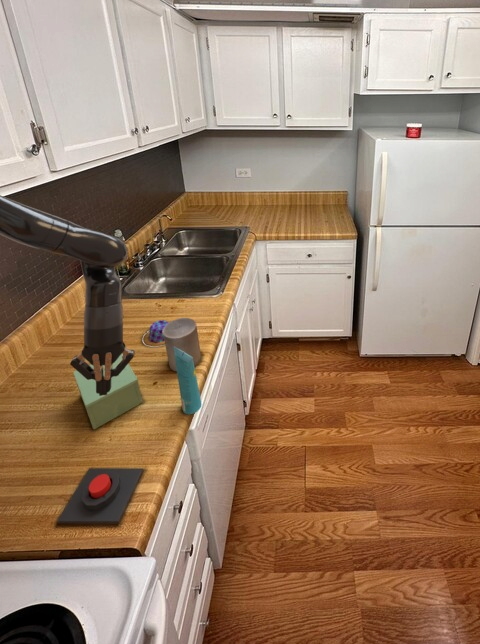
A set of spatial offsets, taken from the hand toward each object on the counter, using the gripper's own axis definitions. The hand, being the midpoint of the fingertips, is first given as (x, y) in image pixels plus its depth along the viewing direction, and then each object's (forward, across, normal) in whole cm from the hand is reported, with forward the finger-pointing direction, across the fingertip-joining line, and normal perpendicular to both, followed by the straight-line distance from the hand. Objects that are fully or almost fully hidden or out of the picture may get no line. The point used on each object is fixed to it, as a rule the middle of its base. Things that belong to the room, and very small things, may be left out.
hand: (104, 393), depth 77 cm
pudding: (+4, +10, +39) cm, 40 cm away
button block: (+17, +2, -11) cm, 20 cm away
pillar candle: (+7, +18, +23) cm, 30 cm away
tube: (+11, +20, +5) cm, 23 cm away
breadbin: (+11, -1, +15) cm, 19 cm away
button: (+14, +2, -11) cm, 18 cm away
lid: (+3, -2, +13) cm, 13 cm away
